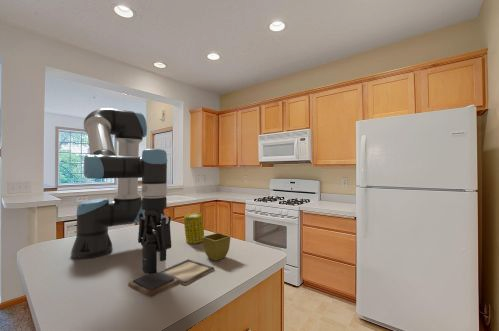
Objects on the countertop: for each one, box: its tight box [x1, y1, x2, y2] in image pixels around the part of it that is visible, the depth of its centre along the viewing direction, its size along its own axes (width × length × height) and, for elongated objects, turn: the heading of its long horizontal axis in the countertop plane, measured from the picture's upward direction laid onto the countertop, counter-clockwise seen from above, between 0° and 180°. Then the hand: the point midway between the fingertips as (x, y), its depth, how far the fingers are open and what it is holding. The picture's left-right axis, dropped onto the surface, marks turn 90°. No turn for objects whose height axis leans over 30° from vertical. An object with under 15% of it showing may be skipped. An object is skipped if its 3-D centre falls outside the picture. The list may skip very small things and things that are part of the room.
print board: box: [160, 258, 215, 286], centre depth 84 cm, size 14×14×1 cm
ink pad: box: [132, 272, 174, 291], centre depth 75 cm, size 10×8×1 cm
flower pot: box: [202, 232, 231, 261], centre depth 97 cm, size 9×9×9 cm
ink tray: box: [127, 272, 179, 298], centre depth 75 cm, size 12×10×1 cm
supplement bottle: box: [141, 230, 159, 274], centre depth 75 cm, size 7×7×12 cm
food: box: [183, 212, 205, 245], centre depth 119 cm, size 15×12×10 cm
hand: (153, 267), depth 75 cm, fingers closed on supplement bottle, 7 cm apart
